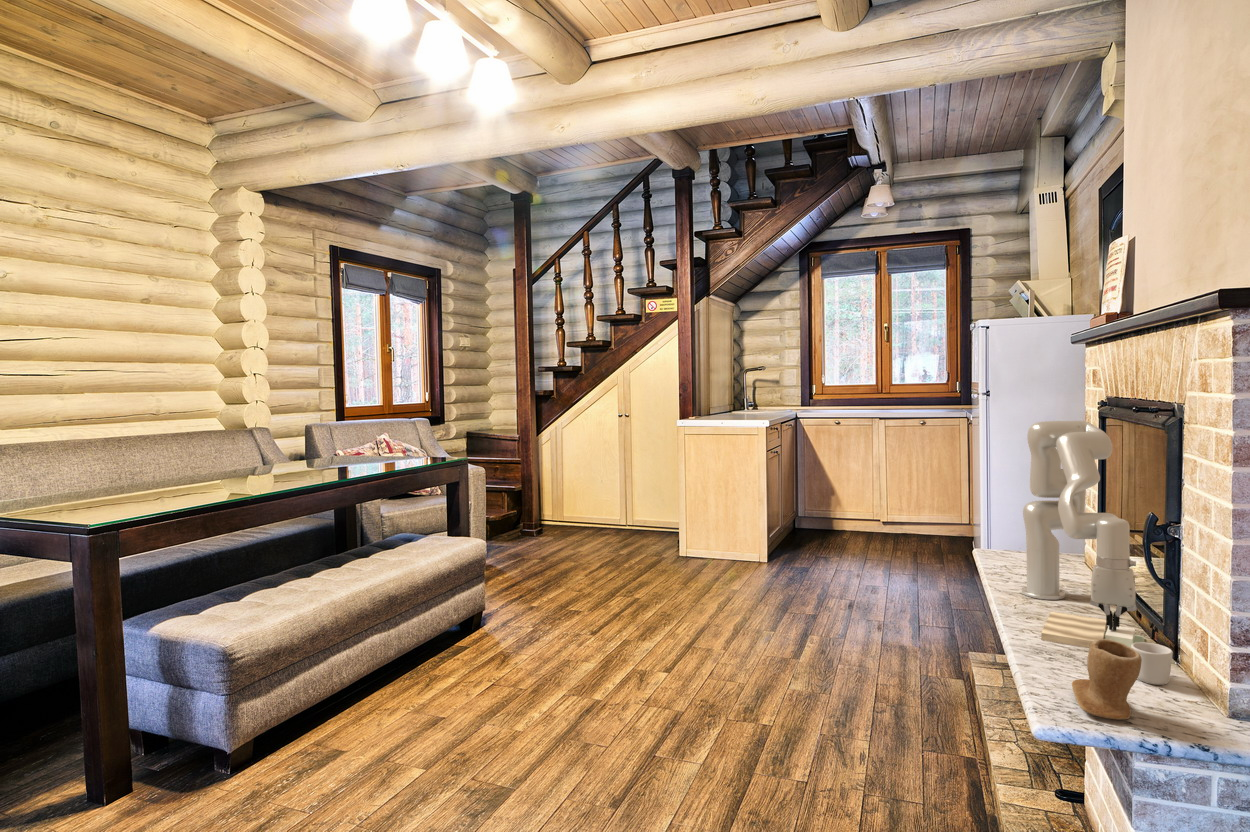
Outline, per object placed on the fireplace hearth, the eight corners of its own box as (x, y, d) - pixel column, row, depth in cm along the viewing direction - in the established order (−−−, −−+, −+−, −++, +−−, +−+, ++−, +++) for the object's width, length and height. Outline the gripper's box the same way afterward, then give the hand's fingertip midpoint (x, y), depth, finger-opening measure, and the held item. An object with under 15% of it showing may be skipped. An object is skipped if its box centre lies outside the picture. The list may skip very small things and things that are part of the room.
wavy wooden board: (1051, 618, 215) (1051, 611, 215) (1106, 626, 206) (1106, 619, 206) (1041, 639, 197) (1041, 632, 197) (1101, 650, 189) (1101, 642, 189)
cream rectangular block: (1108, 631, 201) (1109, 624, 201) (1135, 635, 197) (1135, 628, 197) (1105, 642, 193) (1105, 634, 193) (1132, 646, 189) (1132, 639, 189)
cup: (1137, 668, 177) (1137, 636, 177) (1177, 676, 171) (1177, 644, 171) (1127, 681, 169) (1127, 648, 169) (1169, 691, 164) (1169, 656, 163)
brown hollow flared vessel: (1146, 729, 147) (1146, 657, 146) (1078, 718, 152) (1078, 649, 151) (1133, 699, 160) (1133, 634, 159) (1070, 690, 165) (1070, 627, 165)
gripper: (1146, 563, 194) (1146, 629, 195) (1081, 557, 203) (1082, 620, 204) (1146, 569, 188) (1146, 638, 189) (1079, 562, 197) (1079, 627, 198)
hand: (1112, 628), depth 196 cm, fingers closed
